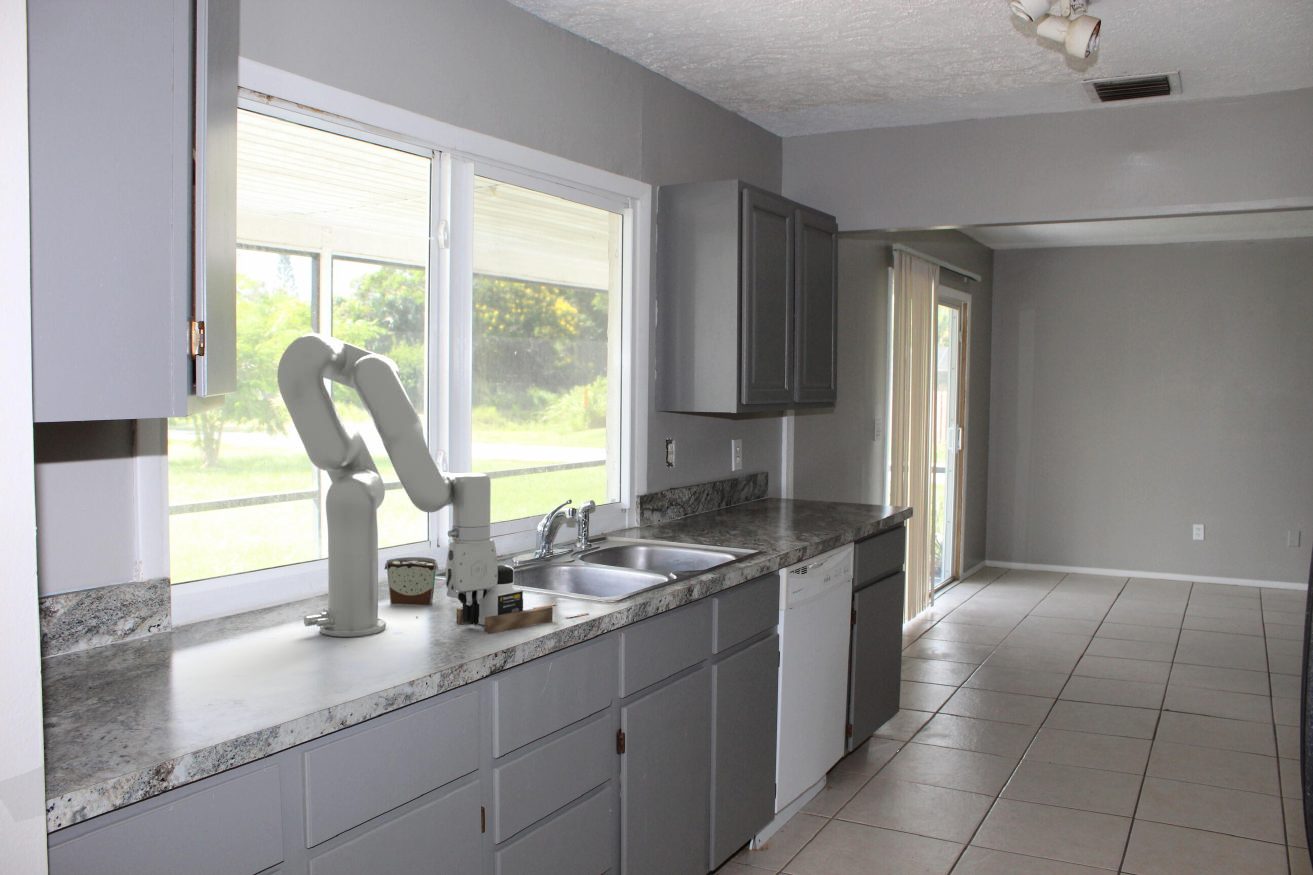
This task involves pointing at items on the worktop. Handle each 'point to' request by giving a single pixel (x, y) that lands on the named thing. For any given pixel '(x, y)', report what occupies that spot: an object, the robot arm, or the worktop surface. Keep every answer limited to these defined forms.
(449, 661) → the worktop surface
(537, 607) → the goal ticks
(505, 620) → the chute
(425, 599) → the food container
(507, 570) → the medicine bottle
